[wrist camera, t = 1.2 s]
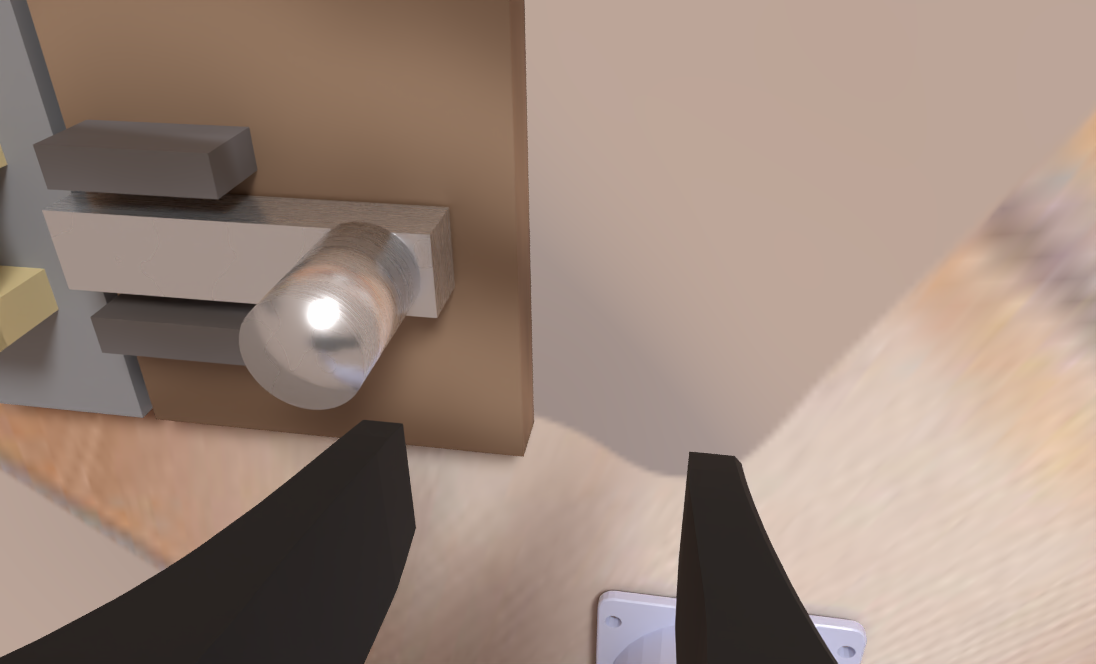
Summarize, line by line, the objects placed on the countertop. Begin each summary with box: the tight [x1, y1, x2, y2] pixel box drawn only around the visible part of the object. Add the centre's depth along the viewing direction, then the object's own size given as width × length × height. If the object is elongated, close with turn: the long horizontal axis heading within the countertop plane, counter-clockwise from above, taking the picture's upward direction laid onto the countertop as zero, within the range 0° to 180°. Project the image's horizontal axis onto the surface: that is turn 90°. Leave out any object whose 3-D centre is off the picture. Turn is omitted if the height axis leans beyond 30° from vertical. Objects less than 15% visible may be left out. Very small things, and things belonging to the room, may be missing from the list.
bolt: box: [42, 191, 455, 410], centre depth 18 cm, size 2×9×5 cm, turn 90°
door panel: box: [27, 0, 534, 457], centre depth 20 cm, size 12×11×3 cm
